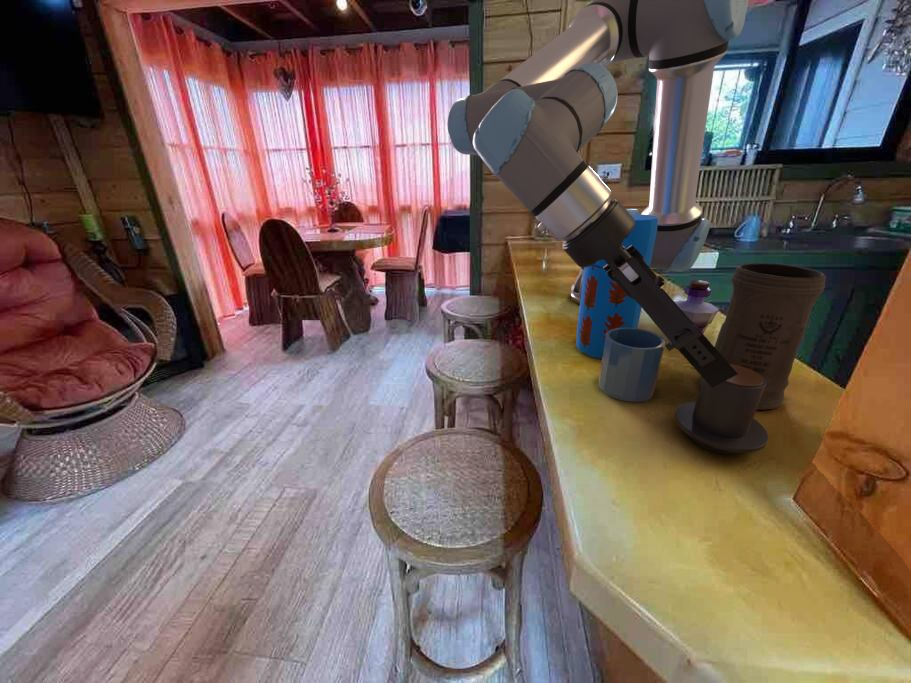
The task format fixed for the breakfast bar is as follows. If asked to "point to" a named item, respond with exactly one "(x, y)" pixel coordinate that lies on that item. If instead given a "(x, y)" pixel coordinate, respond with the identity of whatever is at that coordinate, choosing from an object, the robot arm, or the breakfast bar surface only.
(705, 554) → the breakfast bar surface
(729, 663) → the breakfast bar surface
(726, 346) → the beer stein
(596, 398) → the breakfast bar surface
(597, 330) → the thermos
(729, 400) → the dripper
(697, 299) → the potion bottle
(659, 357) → the cup
